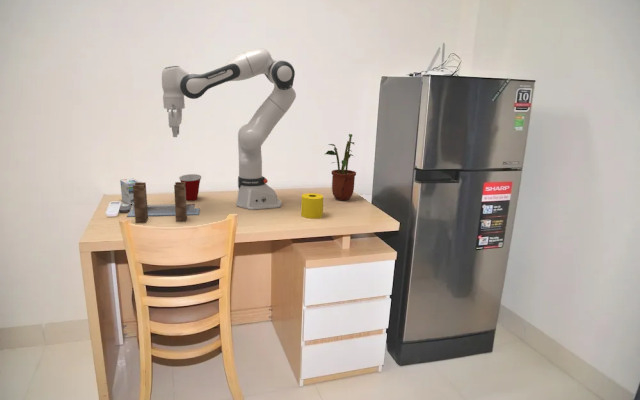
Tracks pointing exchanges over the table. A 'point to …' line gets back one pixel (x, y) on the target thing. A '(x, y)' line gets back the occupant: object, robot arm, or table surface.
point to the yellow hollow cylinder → (312, 205)
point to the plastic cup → (191, 185)
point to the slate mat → (165, 213)
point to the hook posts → (141, 202)
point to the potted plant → (343, 175)
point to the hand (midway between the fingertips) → (176, 135)
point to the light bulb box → (128, 190)
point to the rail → (166, 208)
